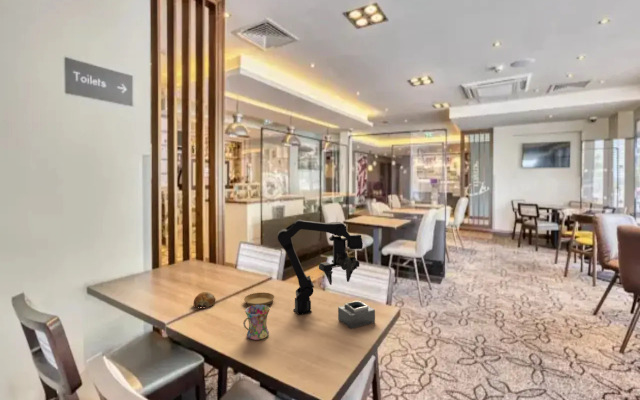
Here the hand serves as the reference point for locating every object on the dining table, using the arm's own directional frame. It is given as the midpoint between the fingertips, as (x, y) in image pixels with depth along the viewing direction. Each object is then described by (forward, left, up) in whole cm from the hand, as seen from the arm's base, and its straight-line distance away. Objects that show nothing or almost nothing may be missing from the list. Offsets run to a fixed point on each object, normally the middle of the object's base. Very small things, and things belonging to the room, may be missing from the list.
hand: (339, 283), depth 150 cm
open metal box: (0, -14, -12) cm, 18 cm away
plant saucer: (-30, +26, -13) cm, 42 cm away
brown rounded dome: (-54, +36, -13) cm, 66 cm away
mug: (-42, -7, -13) cm, 44 cm away
